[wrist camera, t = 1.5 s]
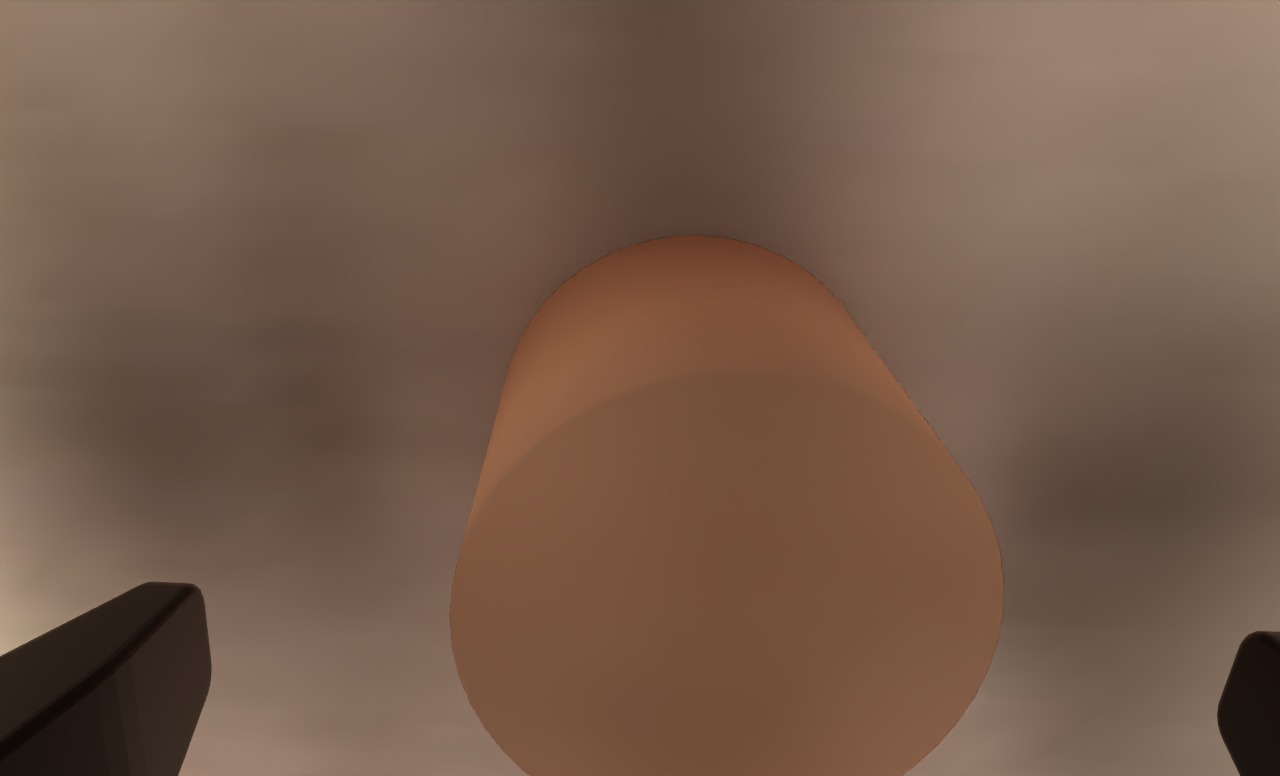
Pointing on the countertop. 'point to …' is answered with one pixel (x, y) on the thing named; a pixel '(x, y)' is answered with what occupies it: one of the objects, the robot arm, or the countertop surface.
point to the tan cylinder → (717, 535)
